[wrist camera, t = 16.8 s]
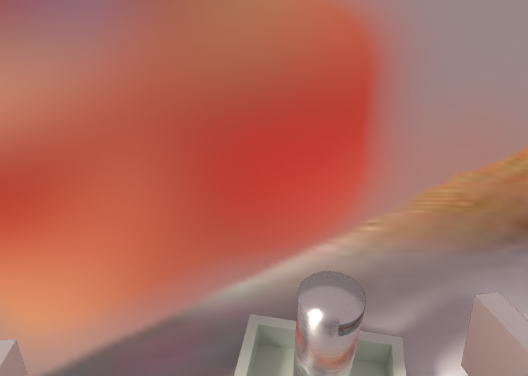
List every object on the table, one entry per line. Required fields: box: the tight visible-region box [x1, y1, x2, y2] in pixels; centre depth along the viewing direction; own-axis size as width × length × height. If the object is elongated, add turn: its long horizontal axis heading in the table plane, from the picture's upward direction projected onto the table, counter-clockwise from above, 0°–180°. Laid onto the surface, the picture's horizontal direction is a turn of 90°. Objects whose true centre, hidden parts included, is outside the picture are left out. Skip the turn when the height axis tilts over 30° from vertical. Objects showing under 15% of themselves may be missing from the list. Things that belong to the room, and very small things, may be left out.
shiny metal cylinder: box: [293, 271, 366, 376], centre depth 32 cm, size 4×4×14 cm
